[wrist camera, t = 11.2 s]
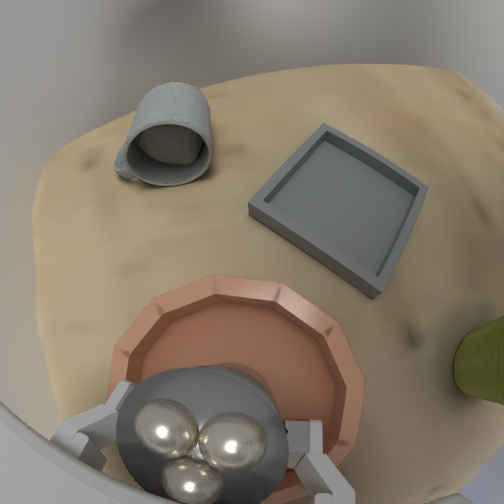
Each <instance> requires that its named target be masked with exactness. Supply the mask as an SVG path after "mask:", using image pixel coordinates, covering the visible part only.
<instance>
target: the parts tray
mask: <svg viewBox="0 0 504 504" xmlns="http://www.w3.org/2000/svg"><path fill="white" fill-rule="evenodd" d="M427 190H428V187H427V186H425V185H424V184H423V183H421V182H420V181H419V180H417V179H416V178H414V177H413V176H412V175H410V174H409V173H407V172H406V171H404V170H403V169H401V168H400V167H398V166H397V165H395V164H394V163H392V162H391V161H389V160H388V159H386V158H384V157H383V156H381V155H380V154H378V153H376V152H375V151H373V150H371V149H370V148H368V147H366V146H365V145H363V144H361V143H360V142H358V141H356V140H354V139H353V138H351V137H349V136H347V135H345V134H343V133H342V132H340V131H338V130H336V129H334V128H332V127H330V126H328V125H326V124H324V123H323V124H322V125H321V126H320V127H319V128H318V129H317V130H316V131H315V132H314V133H313V134H312V135H311V136H310V137H309V138H308V139H307V140H306V141H305V142H304V143H303V144H302V145H301V146H300V147H299V148H298V149H297V151H296V152H295V153H294V154H293V155H292V156H291V157H290V158H289V159H288V160H287V161H286V162H285V163H284V164H283V165H282V166H281V167H280V168H279V169H278V171H277V172H276V173H275V174H274V175H273V176H272V177H271V178H270V179H269V180H268V181H267V182H266V183H265V184H264V186H263V187H262V188H261V189H260V190H259V191H258V192H257V193H256V194H255V195H254V196H253V198H252V199H251V200H250V201H249V202H248V207H249V215H250V216H251V217H253V218H254V219H256V220H257V221H259V222H260V223H262V224H263V225H265V226H266V227H268V228H269V229H271V230H272V231H274V232H275V233H277V234H278V235H280V236H281V237H283V238H284V239H286V240H287V241H289V242H290V243H292V244H293V245H295V246H296V247H298V248H299V249H301V250H302V251H304V252H305V253H307V254H308V255H310V256H311V257H313V258H314V259H316V260H317V261H318V262H320V263H321V264H323V265H324V266H326V267H327V268H329V269H330V270H332V271H333V272H334V273H336V274H337V275H339V276H340V277H342V278H343V279H344V280H346V281H347V282H349V283H350V284H352V285H353V286H354V287H356V288H357V289H359V290H360V291H361V292H363V293H364V294H366V295H367V296H368V297H370V298H371V299H372V298H374V297H376V296H377V295H379V294H380V293H382V292H383V290H384V288H385V286H386V284H387V282H388V280H389V278H390V276H391V274H392V272H393V270H394V268H395V266H396V264H397V262H398V260H399V258H400V256H401V253H402V251H403V249H404V247H405V245H406V243H407V240H408V238H409V236H410V233H411V231H412V229H413V226H414V224H415V221H416V219H417V217H418V214H419V211H420V209H421V206H422V204H423V201H424V198H425V196H426V193H427Z"/></svg>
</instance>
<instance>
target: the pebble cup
mask: <svg viewBox="0 0 504 504" xmlns="http://www.w3.org/2000/svg"><path fill="white" fill-rule="evenodd" d="M116 438H117V445H118V449H119V452H120V455H121V458H122V460H123V462H124V464H125V466H126V468H127V469H128V471H129V473H130V474H131V475H132V477H133V478H134V479H135V481H136V482H137V483H138V484H139V485H140V486H141V487H142V488H143V489H144V490H145V491H147V492H148V493H151V494H154V495H157V496H160V497H163V498H166V499H169V500H172V501H175V502H178V503H182V504H260V503H261V502H263V501H264V500H265V499H267V498H268V497H269V496H270V495H271V494H272V493H273V492H274V491H275V490H276V488H277V487H278V486H279V484H280V483H281V481H282V479H283V477H284V475H285V473H286V469H287V466H288V460H289V444H288V439H287V434H286V431H285V428H284V425H283V422H282V419H281V416H280V413H279V410H278V407H277V404H276V401H275V398H274V395H273V392H272V390H271V388H270V386H269V384H268V382H267V381H266V380H265V379H264V377H263V376H262V375H260V374H259V373H258V372H257V371H255V370H254V369H252V368H250V367H248V366H245V365H242V364H238V363H219V364H212V365H204V366H196V367H187V368H178V369H171V370H167V371H163V372H160V373H157V374H155V375H152V376H150V377H148V378H147V379H145V380H143V381H142V382H141V383H139V384H138V385H137V386H135V388H134V389H133V390H132V391H131V392H130V393H129V394H128V396H127V397H126V398H125V400H124V402H123V404H122V406H121V408H120V411H119V414H118V417H117V424H116Z"/></svg>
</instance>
